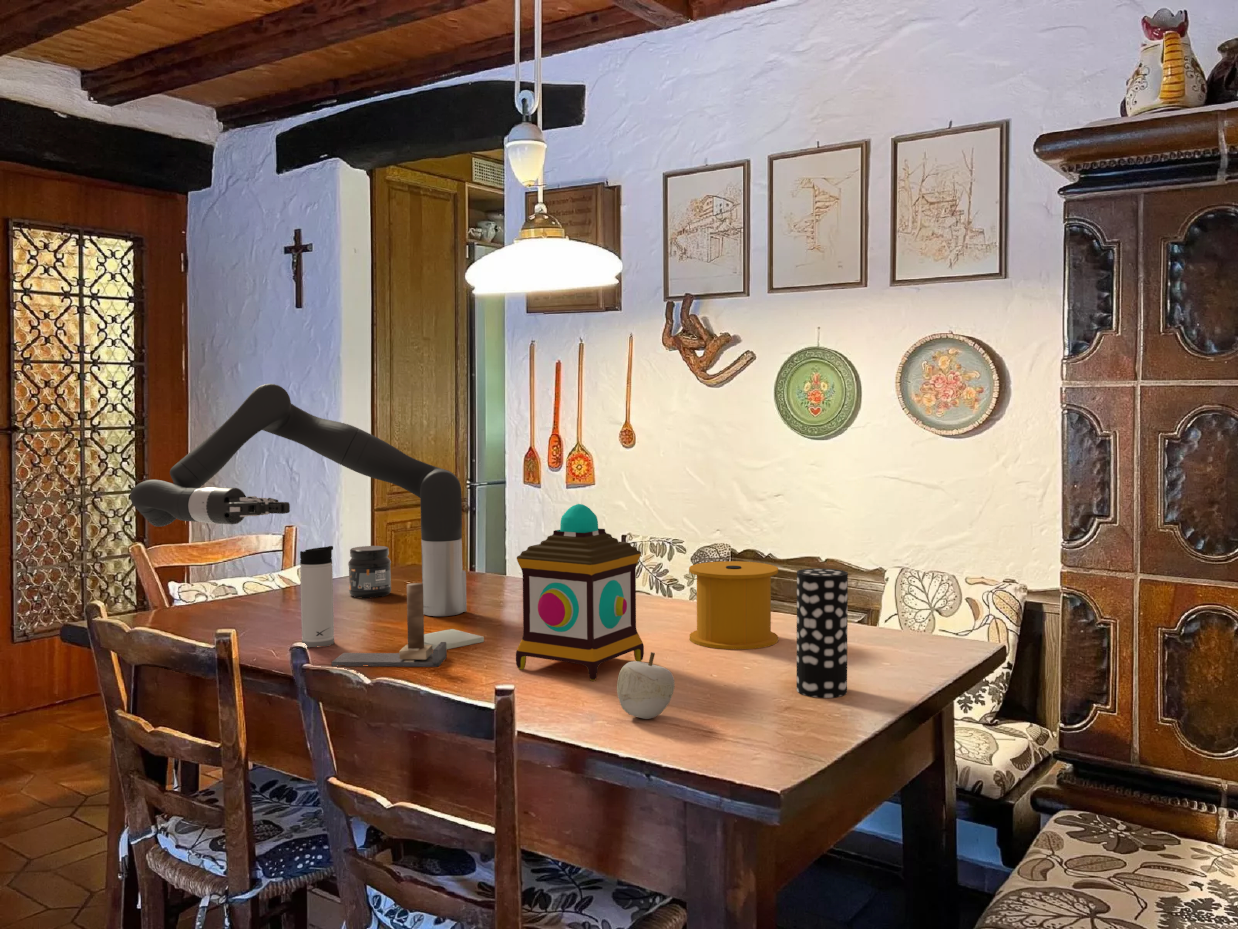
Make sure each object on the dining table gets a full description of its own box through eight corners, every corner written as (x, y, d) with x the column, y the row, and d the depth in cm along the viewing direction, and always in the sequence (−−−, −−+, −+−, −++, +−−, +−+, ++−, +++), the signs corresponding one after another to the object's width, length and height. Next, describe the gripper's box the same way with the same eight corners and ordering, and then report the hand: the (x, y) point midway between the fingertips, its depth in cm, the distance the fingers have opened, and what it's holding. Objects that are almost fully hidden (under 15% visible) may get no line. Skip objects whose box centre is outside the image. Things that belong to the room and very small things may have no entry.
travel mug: (326, 648, 209) (324, 548, 208) (296, 647, 210) (293, 548, 209) (341, 641, 215) (338, 544, 214) (311, 640, 216) (309, 543, 215)
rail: (331, 666, 195) (331, 650, 195) (343, 656, 202) (343, 641, 202) (438, 666, 194) (438, 650, 193) (446, 657, 201) (446, 642, 200)
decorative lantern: (595, 685, 180) (594, 511, 179) (504, 670, 191) (502, 506, 189) (654, 660, 197) (653, 501, 195) (567, 648, 208) (565, 497, 206)
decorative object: (608, 722, 159) (608, 657, 158) (628, 707, 167) (628, 645, 167) (664, 728, 156) (663, 662, 155) (681, 712, 164) (681, 649, 163)
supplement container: (358, 590, 274) (357, 545, 273) (397, 591, 272) (396, 545, 271) (342, 598, 263) (341, 550, 262) (382, 599, 262) (381, 551, 261)
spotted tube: (791, 685, 179) (791, 568, 178) (838, 683, 180) (839, 567, 179) (803, 698, 171) (804, 576, 170) (853, 697, 172) (854, 575, 171)
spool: (678, 646, 209) (678, 571, 208) (702, 627, 226) (702, 558, 225) (767, 652, 203) (767, 575, 202) (785, 633, 220) (786, 562, 219)
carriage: (399, 659, 195) (398, 586, 194) (406, 652, 200) (405, 582, 199) (426, 659, 195) (424, 586, 194) (432, 653, 200) (431, 582, 199)
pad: (451, 633, 222) (451, 628, 222) (483, 641, 214) (483, 636, 214) (407, 642, 214) (407, 637, 214) (439, 650, 206) (439, 645, 206)
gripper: (194, 489, 210) (265, 491, 204) (239, 485, 223) (307, 486, 217) (195, 527, 211) (266, 530, 205) (240, 520, 223) (308, 523, 217)
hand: (287, 507), depth 211 cm, fingers closed
